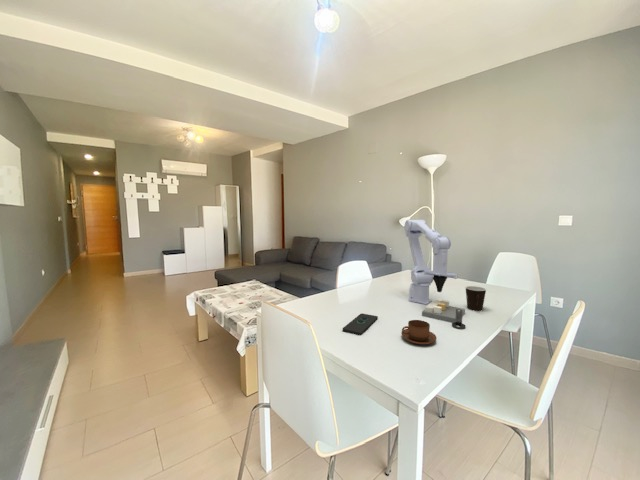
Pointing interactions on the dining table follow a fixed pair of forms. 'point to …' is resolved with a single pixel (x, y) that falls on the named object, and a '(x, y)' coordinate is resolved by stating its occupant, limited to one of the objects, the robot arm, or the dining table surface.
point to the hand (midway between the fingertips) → (439, 291)
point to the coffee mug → (475, 297)
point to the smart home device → (360, 324)
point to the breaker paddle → (442, 306)
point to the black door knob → (458, 320)
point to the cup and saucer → (418, 332)
